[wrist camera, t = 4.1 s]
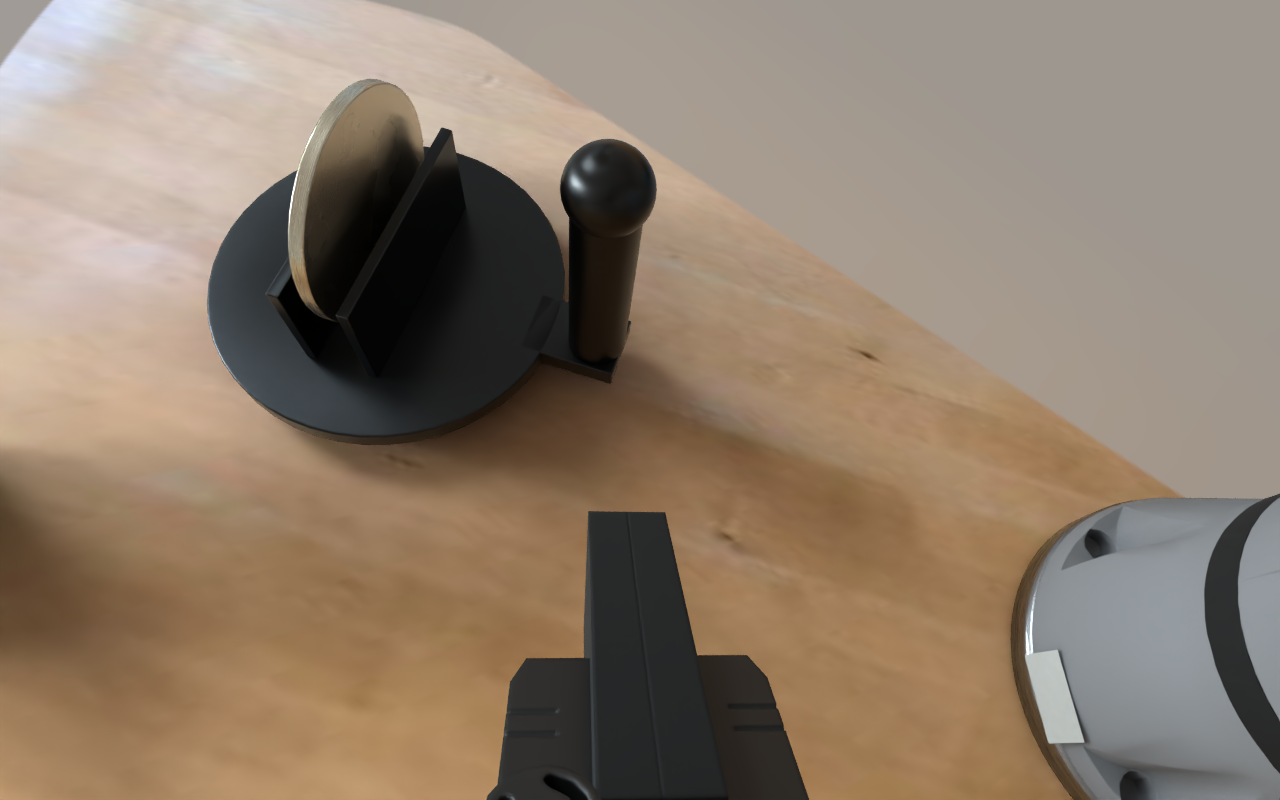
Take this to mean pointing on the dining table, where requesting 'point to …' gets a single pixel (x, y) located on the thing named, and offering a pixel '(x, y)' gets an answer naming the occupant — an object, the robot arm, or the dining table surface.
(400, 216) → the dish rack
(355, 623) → the dining table surface
